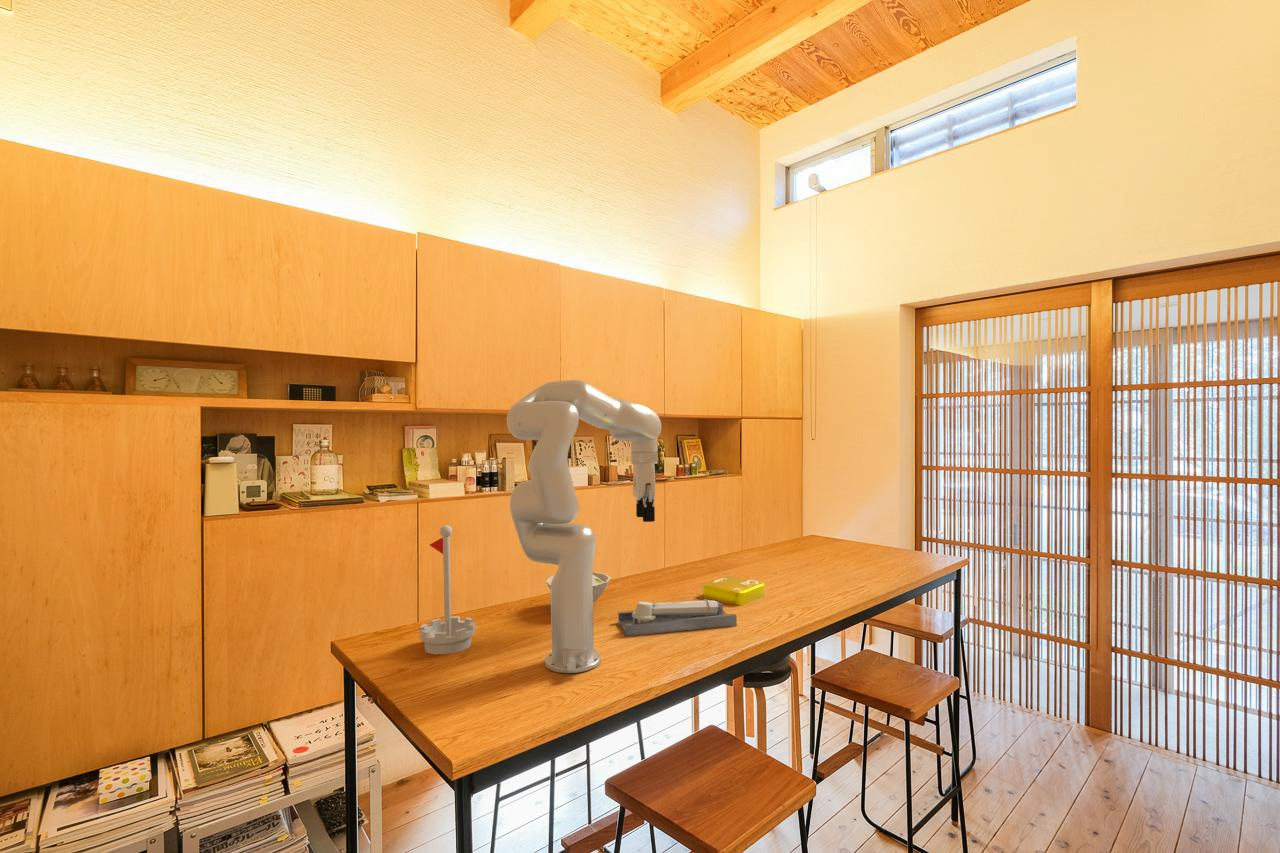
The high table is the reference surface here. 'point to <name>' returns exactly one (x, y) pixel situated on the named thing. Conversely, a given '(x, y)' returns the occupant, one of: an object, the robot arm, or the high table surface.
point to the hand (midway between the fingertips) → (645, 519)
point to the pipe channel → (674, 623)
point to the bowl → (593, 584)
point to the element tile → (734, 590)
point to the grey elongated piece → (674, 609)
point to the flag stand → (446, 613)
